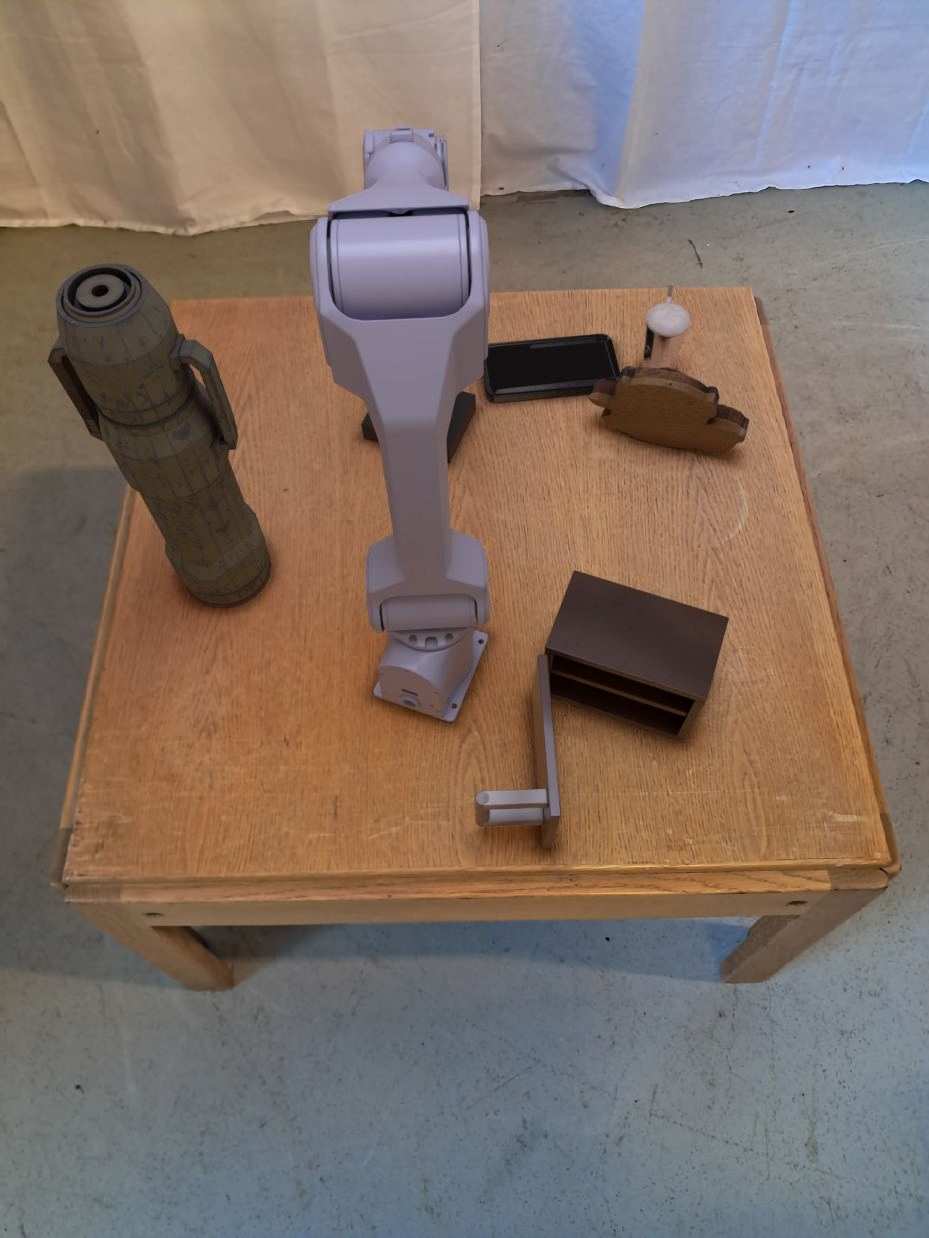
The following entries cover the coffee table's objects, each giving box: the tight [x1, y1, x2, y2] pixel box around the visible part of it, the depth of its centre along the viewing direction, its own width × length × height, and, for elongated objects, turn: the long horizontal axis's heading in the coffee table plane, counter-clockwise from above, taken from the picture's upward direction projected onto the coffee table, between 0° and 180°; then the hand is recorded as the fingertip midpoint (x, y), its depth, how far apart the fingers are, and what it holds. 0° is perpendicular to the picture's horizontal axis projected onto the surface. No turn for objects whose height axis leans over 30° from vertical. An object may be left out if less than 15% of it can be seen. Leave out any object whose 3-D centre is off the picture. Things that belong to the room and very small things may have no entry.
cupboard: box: [543, 569, 730, 743], centre depth 80 cm, size 8×14×10 cm, turn 69°
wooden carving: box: [588, 365, 750, 456], centre depth 93 cm, size 16×5×10 cm, turn 76°
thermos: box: [46, 262, 272, 609], centre depth 75 cm, size 9×12×35 cm
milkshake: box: [641, 283, 691, 369], centre depth 98 cm, size 5×5×10 cm
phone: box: [482, 333, 621, 403], centre depth 102 cm, size 8×1×15 cm
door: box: [474, 654, 562, 849], centre depth 76 cm, size 6×14×9 cm, turn 2°
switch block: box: [360, 390, 477, 464], centre depth 97 cm, size 10×8×4 cm
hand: (422, 376), depth 91 cm, fingers closed
